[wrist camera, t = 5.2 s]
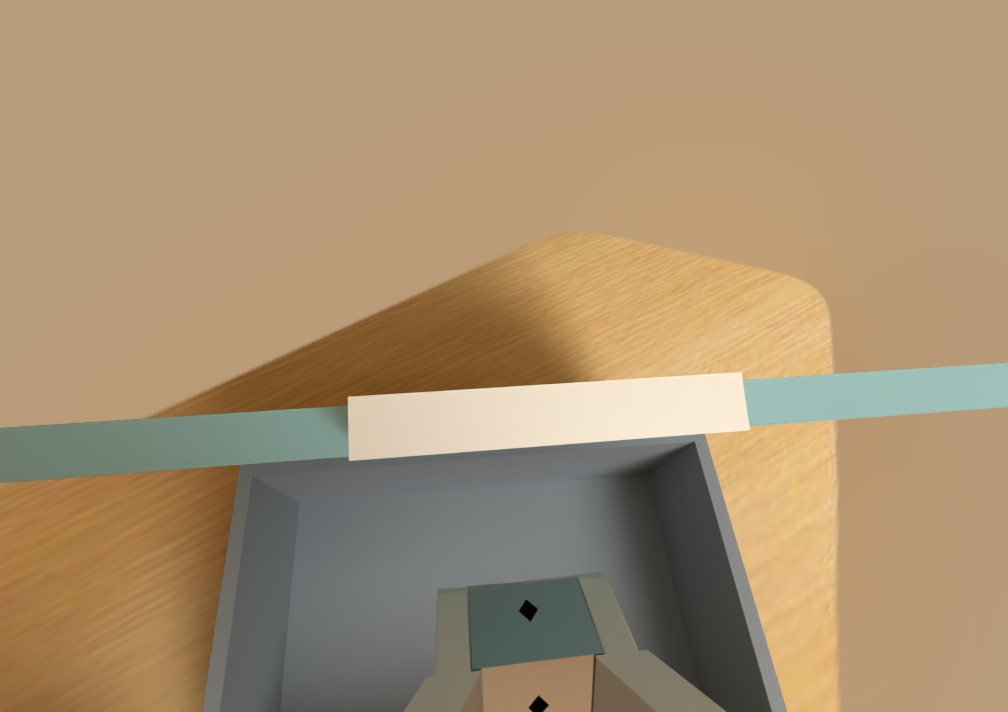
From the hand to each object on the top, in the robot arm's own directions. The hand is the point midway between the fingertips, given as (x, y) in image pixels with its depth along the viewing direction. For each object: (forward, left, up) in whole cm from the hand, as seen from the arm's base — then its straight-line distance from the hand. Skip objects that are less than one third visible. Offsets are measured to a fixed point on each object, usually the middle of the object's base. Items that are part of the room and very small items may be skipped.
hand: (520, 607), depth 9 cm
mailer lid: (0, +4, -2) cm, 4 cm away
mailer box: (0, -1, -14) cm, 14 cm away
